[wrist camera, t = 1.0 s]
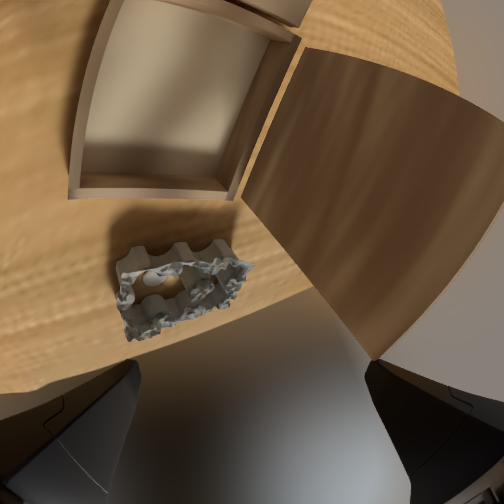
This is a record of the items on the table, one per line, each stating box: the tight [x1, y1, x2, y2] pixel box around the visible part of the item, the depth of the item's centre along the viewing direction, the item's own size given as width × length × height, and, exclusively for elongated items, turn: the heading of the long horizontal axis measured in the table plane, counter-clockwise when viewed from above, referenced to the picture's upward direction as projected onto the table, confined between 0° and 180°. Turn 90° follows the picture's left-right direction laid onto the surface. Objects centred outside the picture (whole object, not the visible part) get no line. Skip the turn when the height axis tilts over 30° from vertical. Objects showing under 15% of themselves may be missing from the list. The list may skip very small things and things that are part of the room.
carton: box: [68, 0, 312, 201], centre depth 10 cm, size 10×20×2 cm, turn 156°
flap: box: [241, 47, 504, 361], centre depth 11 cm, size 1×10×12 cm, turn 156°
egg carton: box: [116, 239, 255, 342], centre depth 22 cm, size 11×8×4 cm
